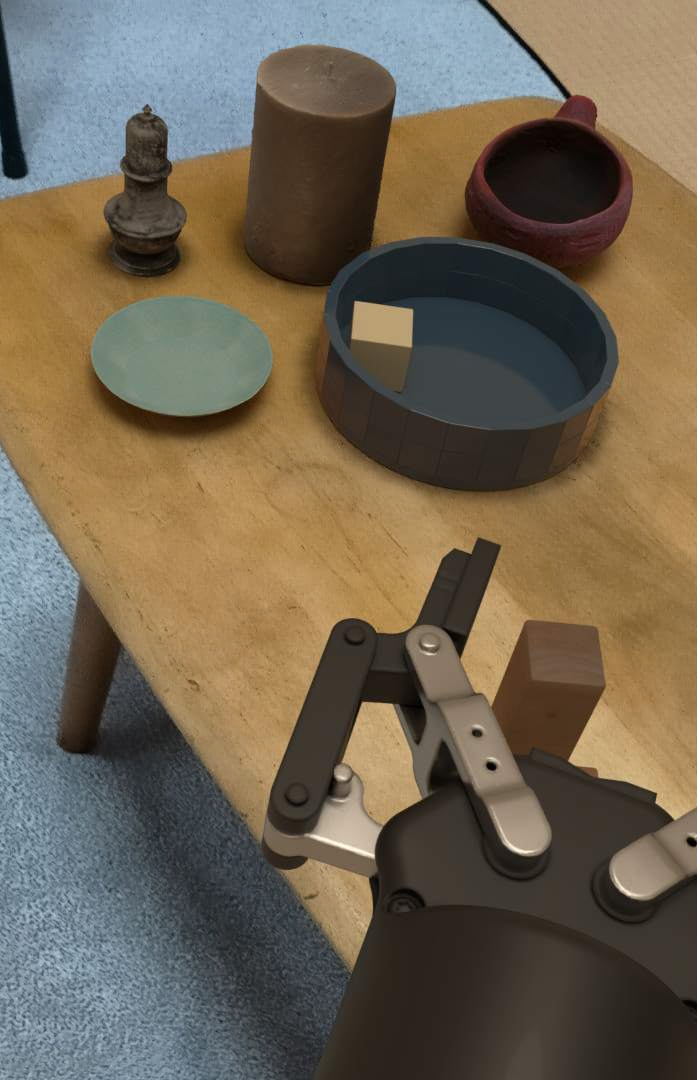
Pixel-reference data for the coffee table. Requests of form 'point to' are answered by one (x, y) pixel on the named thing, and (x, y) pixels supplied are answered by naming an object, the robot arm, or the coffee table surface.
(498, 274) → the bowl
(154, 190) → the salt shaker
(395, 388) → the cube
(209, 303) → the saucer
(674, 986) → the robot arm
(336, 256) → the pillar candle
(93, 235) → the coffee table surface
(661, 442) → the coffee table surface
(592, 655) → the wooden block
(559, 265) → the bowl
